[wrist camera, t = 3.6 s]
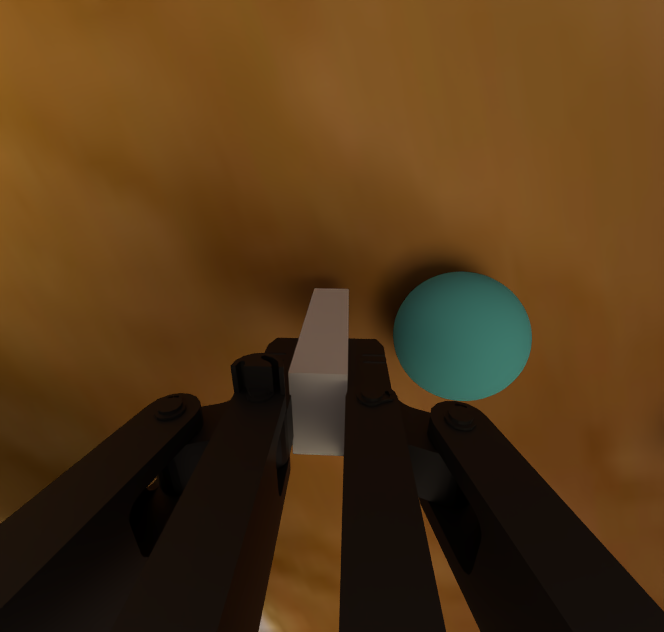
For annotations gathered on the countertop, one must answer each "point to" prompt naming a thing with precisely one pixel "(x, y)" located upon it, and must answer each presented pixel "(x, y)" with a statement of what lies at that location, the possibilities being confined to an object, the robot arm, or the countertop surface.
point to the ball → (462, 336)
